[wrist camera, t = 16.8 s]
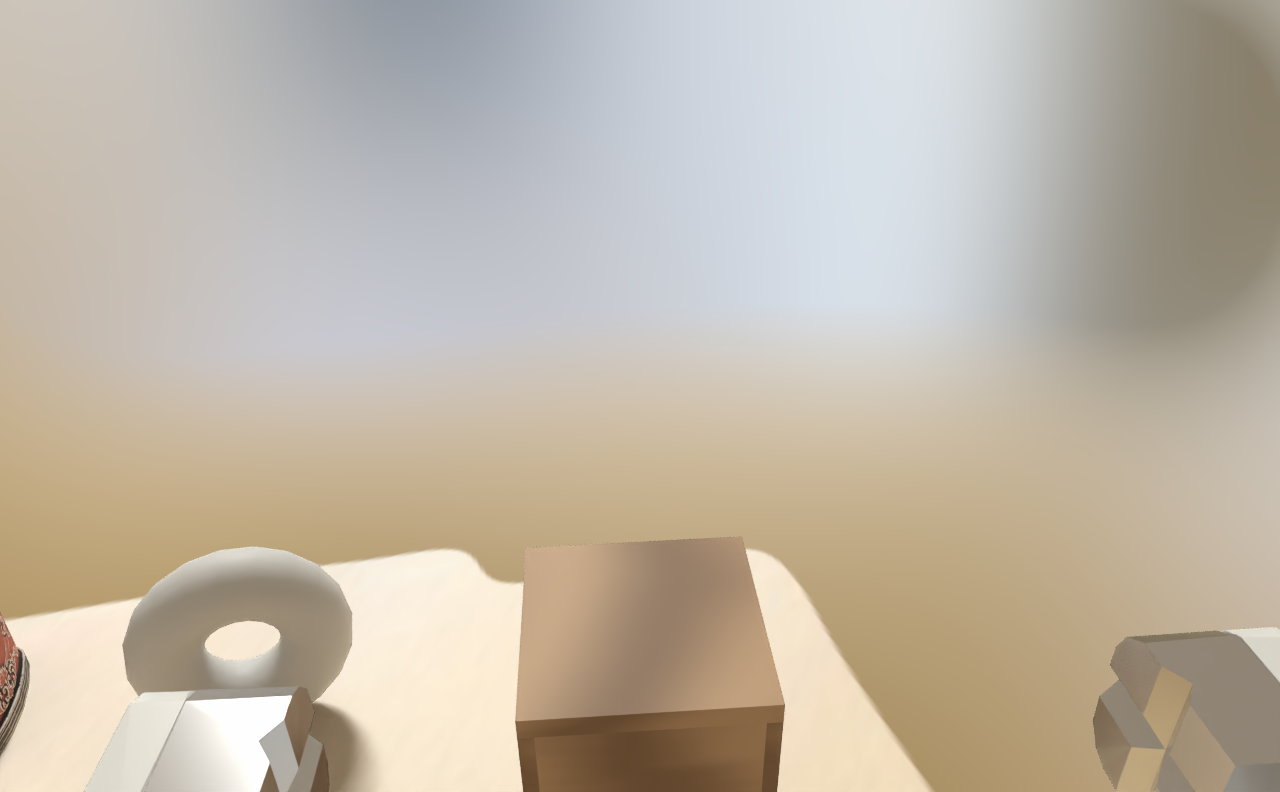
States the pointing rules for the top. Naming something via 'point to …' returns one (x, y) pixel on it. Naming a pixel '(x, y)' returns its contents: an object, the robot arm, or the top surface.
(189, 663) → the donut
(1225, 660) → the robot arm
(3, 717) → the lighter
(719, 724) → the block
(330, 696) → the top surface
